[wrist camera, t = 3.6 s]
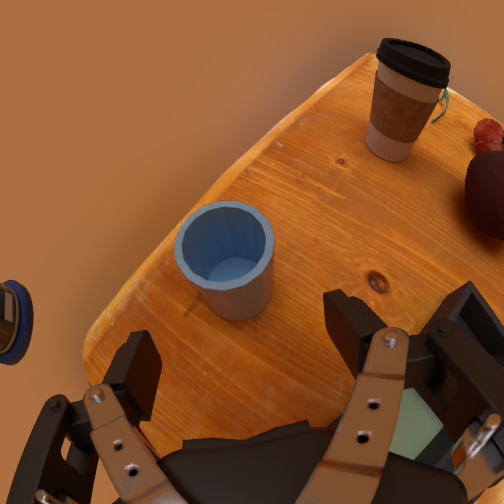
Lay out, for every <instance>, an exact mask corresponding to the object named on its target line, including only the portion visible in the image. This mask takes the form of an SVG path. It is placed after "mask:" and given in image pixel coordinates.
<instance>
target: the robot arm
mask: <svg viewBox="0 0 504 504" xmlns="http://www.w3.org/2000/svg"><path fill="white" fill-rule="evenodd" d="M323 302H324V315H325V325H326V329H327V332H328V335H329V336H330V338H331V340H332V341H333V343H334V344H335V346H336V348H337V349H338V351H339V353H340V354H341V356H342V358H343V359H344V361H345V363H346V364H347V366H348V368H349V369H350V371H351V373H352V374H353V376H354V378H355V380H356V382H355V384H354V387H353V390H352V392H351V395H350V398H349V400H348V403H347V405H346V408H345V410H344V413H343V415H342V418H341V420H340V422H339V425H338V427H337V429H332V428H325V427H310V426H309V423H308V420H304V421H300V422H296V423H292V424H288V425H284V426H279V427H276V428H273V429H271V430H269V431H266V432H264V433H261V434H259V435H256V436H254V437H251V438H249V439H245V440H235V439H222V438H203V439H191V440H183V447H182V449H179V450H176V451H174V452H172V453H170V454H167V455H166V456H164V457H163V458H162V457H161V456H160V454H159V453H158V452H157V450H156V449H155V448H154V446H153V445H152V444H151V442H150V441H149V439H148V438H147V437H146V435H145V434H144V432H143V431H142V429H141V428H140V427H139V424H140V421H150V419H151V414H152V410H153V405H154V400H155V396H156V392H157V387H158V383H159V379H160V374H161V370H162V361H161V357H160V355H159V353H158V351H157V348H156V346H155V344H154V342H153V340H152V338H151V335H150V333H149V332H148V331H147V330H142V331H135V332H131V333H130V335H129V337H128V340H127V342H126V343H124V344H123V345H122V346H121V347H120V348H119V349H118V350H117V351H116V353H115V356H114V359H113V360H112V362H111V365H110V366H109V368H108V370H107V372H106V375H105V377H104V379H103V381H102V383H101V384H97V385H95V386H93V387H91V388H90V389H88V390H87V391H86V393H85V394H84V396H83V400H80V401H76V402H72V403H70V402H69V400H68V399H67V398H66V397H65V396H64V395H61V394H58V395H55V396H52V397H51V398H49V399H48V400H47V401H46V402H45V404H44V406H43V408H42V410H41V412H40V414H39V417H38V419H37V421H36V423H35V425H34V427H33V429H32V432H31V434H30V436H29V439H28V441H27V443H26V446H25V448H24V451H23V453H22V456H21V459H20V461H19V464H18V467H17V470H16V472H15V475H14V478H13V481H12V485H11V488H10V491H9V494H8V498H7V502H6V504H90V502H91V497H92V491H93V485H94V479H95V475H96V469H97V465H98V460H99V457H100V459H101V461H102V464H103V465H104V468H105V470H106V472H107V474H108V476H109V478H110V479H111V482H112V483H113V485H114V487H115V489H116V491H117V492H118V494H119V496H120V497H119V498H118V499H117V500H116V501H115V502H114V503H112V504H468V502H469V501H470V500H471V499H473V498H474V497H476V496H477V495H478V494H480V493H481V492H482V491H484V490H485V489H486V488H490V487H493V486H495V485H497V484H498V483H499V482H500V481H502V480H503V479H504V368H503V367H502V366H501V365H500V364H499V363H498V362H497V361H496V360H495V359H494V358H493V357H492V356H491V355H490V354H489V353H488V352H487V351H486V350H485V349H484V348H483V347H482V346H481V345H480V344H478V343H477V342H476V341H475V340H474V339H473V338H472V337H471V336H470V335H469V334H468V333H467V332H466V331H465V330H463V329H462V328H461V327H460V326H459V325H458V324H457V323H455V322H454V321H452V320H448V319H438V320H435V321H433V322H431V323H430V324H429V326H428V330H427V333H424V334H418V335H411V336H408V334H407V333H406V332H405V331H404V330H402V329H400V328H396V327H388V326H387V325H386V324H385V323H384V322H383V321H382V320H381V319H380V318H379V317H378V316H377V315H376V314H375V313H374V312H373V311H372V310H371V309H370V307H368V305H367V304H366V303H365V302H364V301H363V300H361V299H359V298H356V297H354V296H352V297H347V296H346V295H345V293H344V292H343V291H342V290H341V289H337V290H333V291H329V292H325V293H324V294H323ZM20 325H21V304H20V299H19V297H18V294H17V293H16V291H15V290H13V289H12V288H10V287H8V286H5V285H3V284H2V283H0V354H6V353H8V352H9V351H10V350H11V349H12V348H13V346H14V345H15V343H16V340H17V338H18V334H19V330H20ZM416 387H418V388H419V389H420V391H421V392H422V393H423V395H424V396H425V398H426V399H427V401H428V402H429V404H430V405H431V407H432V408H433V410H434V412H435V413H436V415H437V416H438V418H439V419H440V421H441V422H442V424H443V426H444V427H445V429H446V430H447V432H448V434H449V435H450V437H451V438H452V440H453V442H454V443H455V445H454V447H453V449H452V453H451V459H452V463H453V466H454V472H453V473H452V472H450V471H447V470H444V469H441V468H437V467H434V466H431V465H427V464H424V463H421V462H418V461H415V460H412V459H410V458H407V457H404V456H401V455H398V454H396V453H393V452H391V451H389V449H390V446H391V442H392V438H393V435H394V431H395V427H396V423H397V419H398V414H399V410H400V405H401V400H402V395H403V390H404V389H410V388H416ZM65 437H66V438H67V439H68V440H69V441H70V442H71V445H70V448H69V451H68V455H67V458H66V461H65V460H64V459H63V457H62V455H61V447H62V445H63V442H64V439H65Z"/></svg>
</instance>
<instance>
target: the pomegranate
mask: <svg viewBox="0 0 504 504" xmlns="http://www.w3.org/2000/svg"><path fill="white" fill-rule="evenodd" d="M474 139H475V148H476V150H477V152H478V153H479V154H480V153H482V152H485V151H504V130H503V129H502V127H501V125H500V124H499V123H498V122H496V121H494V120H492V119H483V120H481V121H478V123H477V126H476V127H475V128H474Z"/></svg>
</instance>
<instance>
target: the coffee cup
mask: <svg viewBox="0 0 504 504" xmlns="http://www.w3.org/2000/svg"><path fill="white" fill-rule="evenodd" d="M376 57H377V59H378V60H379V64H378V70H377V71H376V74H375V83H374V92H373V99H372V107H371V114H370V122H369V127H368V132H367V137H366V143H367V146H368V147H369V149H370V150H371V151H372V152H373V153H374V154H375V155H377V156H378V157H380V158H382V159H384V160H387V161H390V162H401V161H403V160H404V159H405V158H406V157H407V155H408V153H409V152H410V150H411V148H412V146H413V144H414V143H415V141H416V140H417V138H418V136H419V135H420V133H421V131H422V130H423V128H424V126H425V124H426V123H427V121H428V119H429V117H430V116H431V114H432V112H433V110H434V108H435V106H436V105H437V103H438V100H439V99H438V97H439V95H440V93H441V91H442V89H445V88H447V84H448V82H449V79H448V77H449V72H450V66H451V65H450V62H449V61H448V60H447V59H446V58H445V57H443V56H442V55H440V54H439V53H437V52H436V51H434V50H432V49H430V48H428V47H426V46H423V45H420V44H417V43H413V42H409V41H405V40H400V39H394V38H384V39H383V40H382V42H381V44H380V47H379V48H378V49H377V54H376Z"/></svg>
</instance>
